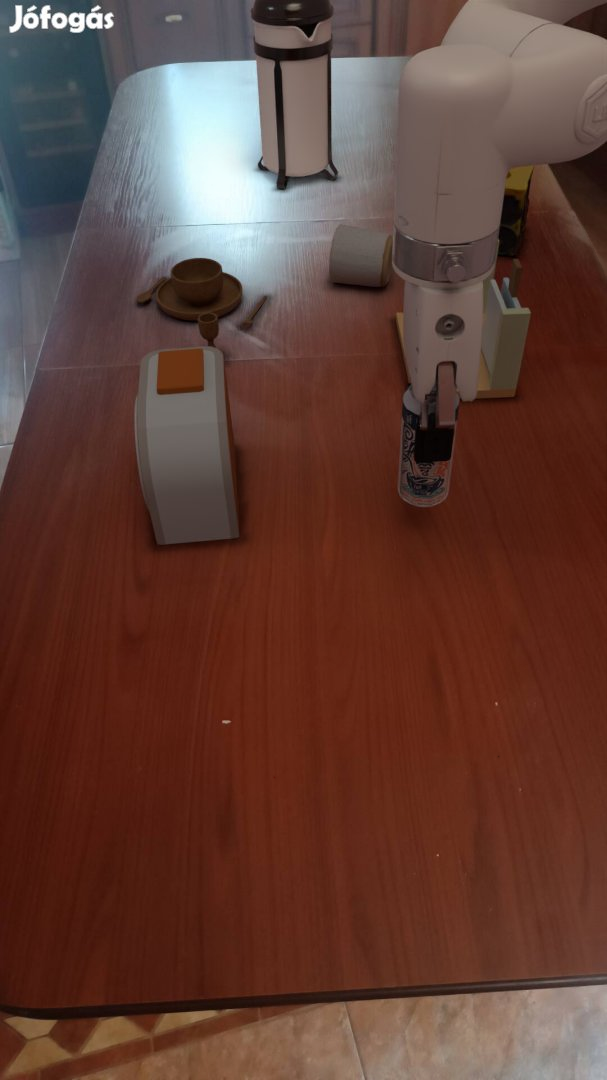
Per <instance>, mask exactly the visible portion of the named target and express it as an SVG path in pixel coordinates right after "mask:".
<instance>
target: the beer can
mask: <svg viewBox="0 0 607 1080" xmlns="http://www.w3.org/2000/svg"><path fill="white" fill-rule="evenodd" d="M431 391H436V387H433V388H432V390H431ZM436 408H437V406H436V402H434V403H429V405H428V415H429V414H430V413H434V412H436ZM459 409H460V399H459V396H458V394H457V393H456V411H455V429H454V438H453V446H452V455H451V459H450V460H448V461H439V462H421V463H417V462H415V461H414V456H413V455H414V441H415V427H416V423H419V422H420V402H419V401H418V400H417V399H416V398H415V395H414V391H413V387H412V384H411V385H410V387H409V388H408V390H407V389H406V390H405V391H404V393H403V396H402V408H401V424H400V425H401V426H400V440H399V441H400V443H399V457H398V458H399V459H398V460H399V461H398V462H399V463H398V475H397V476H398V477H397V493H398V495H399V497H400V498H401V499H402V500H403V501H404V502H406V503H408V504H410V505H412V506H415V507H421V508H430V507H434V506H437V505H439V504H442V503H443V502H444V501H445V500H446V498H447V497H448V495H449V492H450V483H451V475H452V468H453V467H452V466H453V459H454V450H455V444H456V443H455V441H456V436H457V435H456V433H457V425H458V419H459V418H458V417H459Z"/></svg>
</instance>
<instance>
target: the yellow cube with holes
mask: <svg viewBox="0 0 607 1080" xmlns="http://www.w3.org/2000/svg"><path fill="white" fill-rule="evenodd" d="M535 166H536V165H531V166H522V167H515V168H512V169H511V170H510V171H509V172H508V173H507V177H506V184H505V191H504V199H503V206H502V213H501V220H500V228H499V236H498V239H499V248H498V254H497V255H501V256H506V257H507V256H508V257H515V256H517V255H518V252H519V250H520V248H521V244H522V241H523V238H524V236H523V232H524V231H525V230H526V226H527V219H528V213H529V205H530V198H529V195H530V188H531V185H532V184H531V183H532V177H533V173H534V169H535Z"/></svg>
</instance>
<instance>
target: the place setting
mask: <svg viewBox="0 0 607 1080" xmlns="http://www.w3.org/2000/svg"><path fill="white" fill-rule="evenodd" d="M166 278H167V277H166V276H163V277H161V278H160V279H158V280H157V281H156V283H155V284H153V285H152V287H150V289H148V290H147V291H145V292H142V293H140V294H138V295H137V296H136V298H135V301H136V303H137V304H138V303H139V304H144V303H147V302H148V301H150V300H151V298H152V295H153V294H152V292H153V291H155V289H156V291H155V298H156V303H157V304H158V307H159V308H160V309H161V310H162V311H163V312H164V313H166V314H167V315H169V316H171V317H173V318H176V319H178V320H179V319H180V320H184V321H195V322H196V321H197V325H198V331H199V334H200V336H201V338H202V339H204V340H206V342H207V346H210V347H214V348H217V347H216V345H215V339H217V338H218V336H219V332H220V325H219V317H222V316H224V315H226V314H228V313H229V312H231V311H232V310H234V309H235V308H237V306H238V305H239V303H240V302H241V300H242V298H243V293H244V292H243V291H244V290H243V284H242V282H241V281H240V280H239V279H238V278H237V277H236V276H234V275H232V274H230V273H228V272H225V271H223V266H222V265H221V263H220V262H218V261H217V260H216V259H213V258H208V257H193V258H187V259H183V260H181V261H179V262H177V263H176V264H174V265H173V267H172V268H171V270H170V277H168V278H167V279H166ZM267 297H268V296H267V295H264V296H263V297H262V299H260V301H259V302H258V304H257V305H256V306H255V307H254V309H253V310H252V312H251V313H250V315H249V316H248V317H247V318H246V319H245V320H244V321H242V323H240V324H239V325H237V327H236V328H237V329H238V328H239V329H245V330H246V329H248V328H249V327H251V326H252V325H253V320H252V319H253V318H254V316H255V315H256V314H257V312H258V311H259V310H260V308H261V307H262V306H263V304H264V303H265V301H266V300H267Z"/></svg>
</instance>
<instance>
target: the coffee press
mask: <svg viewBox="0 0 607 1080" xmlns="http://www.w3.org/2000/svg"><path fill="white" fill-rule="evenodd" d="M334 13H335V12H334V5H333V4H331V1H330V0H254V2H253V7H251V9H250V18H251V20H252V22H253V30H254V31H253V32H254V36H253V39H252V40H253V52H254V54H255V59H256V60H255V62H256V63H255V65H256V78H257V79H256V80H257V92H258V93H257V95H258V110H259V124H260V138H261V154H262V155H261V157H260V159H259V160H258V162H257V167H258V169H259V170H260V171H265V170H266V169H267V170H268V171H269V172H272V173H273V174H276V175H277V179H276V189H280V190H281V189H282V190H286V189H287V187H288V184H289V181H290V178H291V177H293V178H294V177H305V176H306V177H307V176H312V175H315V174H318V173H323V174H324V175H325V177H326V178H327V179H329V180H330V181H333V180H335V179H336V178H337V177H338V176H339V171H338V169H337V168H336V166H335V164H334V162H333V152H332V151H333V147H332V140H333V139H332V135H333V133H332V130H333V129H332V51H333V48H334V47H333V43H334V42H333V37H334V35H333V33H332V18H333V16H334ZM262 162H263V163H262ZM328 166H329V169H330V170H331V171H332V173H333V174H334V175H332V174H331V173H330V171H329V170H328V169H327V167H328Z"/></svg>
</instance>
